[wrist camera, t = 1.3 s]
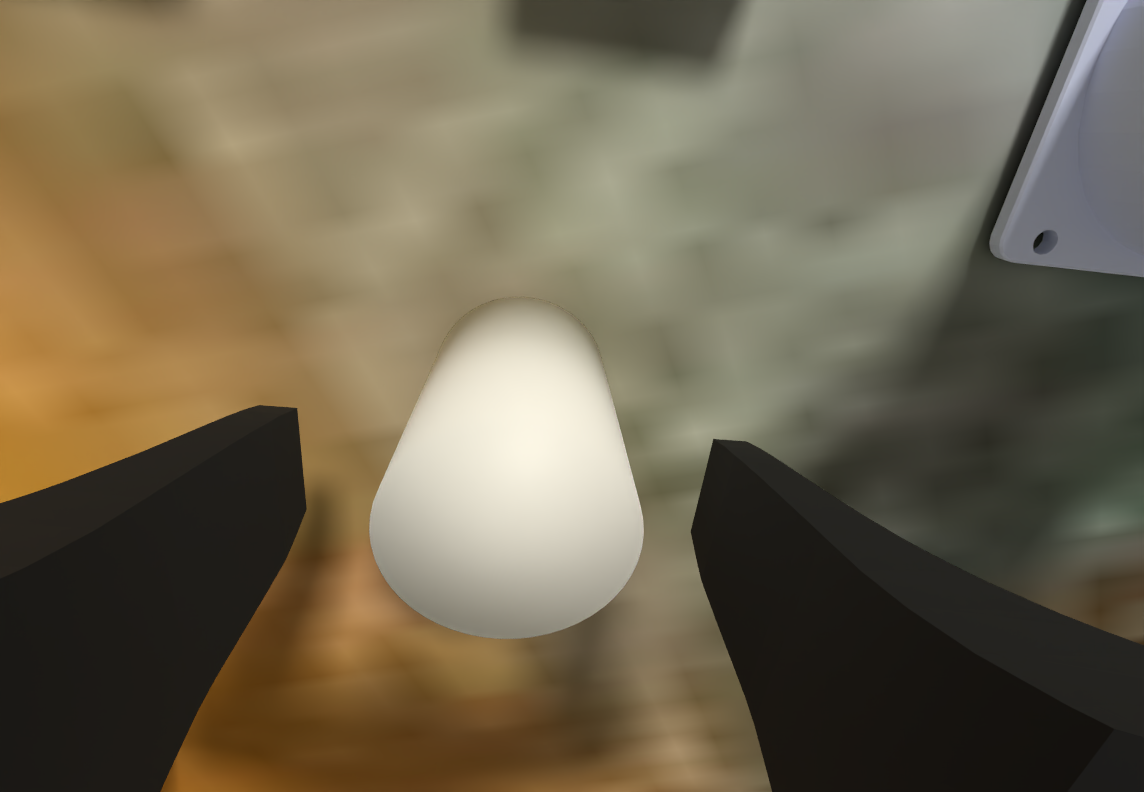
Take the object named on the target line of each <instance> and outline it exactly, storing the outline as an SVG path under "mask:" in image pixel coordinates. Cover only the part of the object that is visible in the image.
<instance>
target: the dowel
mask: <svg viewBox="0 0 1144 792" xmlns="http://www.w3.org/2000/svg"><path fill="white" fill-rule="evenodd" d="M369 533H370V541H371V548H372V551H373V554H374V558H375V561H376V563H377V565H378V567H379V570H380V572H381V574H382V575H383V577H384V578H385V580H386V581H387V583H388V584H389V586H390V587H391V588H392V589H393V590H394V592H395V593H396V594H397V595H398V596H399V597H400V598H401V599H402V600H403V601H404V602H405V603H407V604H408V605H409V606H410V607H411V608H413V609H414V610H415V611H417V612H418V613H420V614H421V615H423V616H424V617H426V618H428V619H430V620H432V621H434V622H435V623H437V624H440V625H442V626H444V627H447V628H449V629H452V630H455V631H458V632H462V633H465V634H469V635H474V636H480V637H486V638H497V639H518V638H528V637H535V636H540V635H545V634H550V633H553V632H556V631H560V630H563V629H565V628H568V627H570V626H573V625H575V624H577V623H579V622H581V621H583V620H585V619H587V618H588V617H590V616H592V615H593V614H595V613H596V612H598V611H599V610H600V609H602V608H603V607H604V606H606V605H607V604H608V603H609V602H610V601H611V600H612V599H613V598H614V597H615V596H616V595H617V594H618V593H619V592H620V591H621V589H622V588H623V587H624V586H625V584H626V583H627V581H628V580H629V578H630V577H631V575H632V573H633V571H634V569H635V567H636V565H637V562H638V560H639V556H640V553H641V549H642V543H643V535H644V529H643V516H642V511H641V506H640V502H639V498H638V495H637V491H636V487H635V483H634V479H633V476H632V472H631V468H630V464H629V461H628V457H627V453H626V449H625V445H624V442H623V438H622V434H621V430H620V426H619V423H618V419H617V415H616V411H615V407H614V404H613V400H612V396H611V392H610V388H609V385H608V381H607V377H606V373H605V369H604V366H603V362H602V358H601V355H600V352H599V349H598V346H597V344H596V342H595V340H594V338H593V337H592V335H591V334H590V332H589V331H588V330H587V328H586V327H585V326H584V325H583V324H582V323H581V322H580V321H579V320H578V319H577V318H576V317H575V316H573V315H572V314H571V313H569V312H568V311H566V310H564V309H563V308H561V307H559V306H557V305H555V304H552V303H550V302H547V301H544V300H540V299H535V298H529V297H509V298H502V299H497V300H493V301H490V302H488V303H485V304H482V305H480V306H478V307H477V308H475V309H473V310H471V311H470V312H469V313H467V314H466V315H464V316H463V317H462V318H461V319H460V320H459V321H458V322H457V323H456V324H455V325H454V326H453V327H452V329H451V330H450V331H449V333H448V334H447V336H446V338H445V340H444V341H443V344H442V346H441V348H440V350H439V353H438V355H437V357H436V359H435V362H434V364H433V366H432V369H431V371H430V373H429V375H428V378H427V380H426V382H425V384H424V387H423V389H422V391H421V394H420V396H419V398H418V400H417V403H416V405H415V407H414V409H413V412H412V414H411V416H410V419H409V421H408V423H407V425H406V428H405V430H404V432H403V434H402V437H401V439H400V441H399V443H398V446H397V448H396V450H395V453H394V455H393V457H392V459H391V462H390V464H389V466H388V468H387V471H386V473H385V475H384V478H383V480H382V482H381V484H380V487H379V489H378V492H377V494H376V497H375V499H374V502H373V505H372V510H371V515H370V528H369Z"/></svg>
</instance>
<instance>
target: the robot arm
mask: <svg viewBox="0 0 1144 792" xmlns="http://www.w3.org/2000/svg"><path fill="white" fill-rule="evenodd" d="M1042 232H1043V233H1044V235H1043V240H1042V242H1041V243H1040V244H1039V246H1038V247H1036V248H1035V249H1033V244H1034V240H1035V239H1036V237H1037V236H1038V235H1039V234H1040V233H1042ZM989 245H990V250H991V252H992V254H993V255H994V256H995V257H997V258H1000V259H1002V260H1006V261H1009V262H1012V263H1021V264H1030V265H1039V266H1048V267H1057V268H1066V269H1075V270H1084V271H1093V272H1102V273H1111V274H1120V275H1129V276H1137V277H1144V0H1087V1H1086V3H1085V6H1084V8H1083V11H1082V13H1081V16H1080V18H1079V20H1078V23H1077V25H1076V28H1075V30H1074V33H1073V35H1072V38H1071V40H1070V43H1069V45H1068V47H1067V50H1066V52H1065V55H1064V57H1063V60H1062V62H1061V65H1060V67H1059V70H1058V72H1057V74H1056V77H1055V79H1054V82H1053V84H1052V87H1051V89H1050V92H1049V94H1048V97H1047V99H1046V101H1045V104H1044V106H1043V109H1042V111H1041V114H1040V116H1039V119H1038V121H1037V124H1036V126H1035V128H1034V131H1033V133H1032V136H1031V138H1030V141H1029V143H1028V146H1027V148H1026V150H1025V153H1024V155H1023V158H1022V160H1021V163H1020V165H1019V168H1018V170H1017V173H1016V175H1015V177H1014V180H1013V182H1012V185H1011V187H1010V190H1009V192H1008V195H1007V197H1006V200H1005V202H1004V204H1003V207H1002V209H1001V212H1000V214H999V217H998V219H997V222H996V224H995V227H994V229H993V231H992V234H991V238H990V242H989ZM305 512H306V499H305V488H304V477H303V466H302V456H301V445H300V434H299V423H298V413H297V408H289V407H276V406H262V405H259V406H255V407H251V408H248V409H245V410H242V411H239V412H237V413H234V414H231V415H229V416H226V417H224V418H221V419H219V420H217V421H214V422H212V423H209V424H207V425H205V426H202V427H200V428H197V429H195V430H193V431H190V432H188V433H186V434H183V435H181V436H179V437H176V438H174V439H171V440H169V441H167V442H164V443H162V444H160V445H157V446H155V447H152V448H150V449H148V450H145V451H143V452H140V453H138V454H135V455H133V456H130V457H128V458H125V459H122V460H120V461H117V462H115V463H112V464H110V465H107V466H104V467H102V468H99V469H97V470H94V471H91V472H89V473H86V474H84V475H81V476H79V477H76V478H73V479H71V480H68V481H66V482H63V483H60V484H57V485H54V486H51V487H49V488H46V489H43V490H40V491H37V492H34V493H31V494H28V495H25V496H22V497H19V498H16V499H13V500H10V501H6V502H3V503H0V792H160V791H161V789H162V786H163V784H164V782H165V780H166V777H167V775H168V773H169V771H170V769H171V767H172V765H173V763H174V760H175V758H176V756H177V754H178V752H179V750H180V748H181V745H182V743H183V741H184V739H185V737H186V735H187V733H188V731H189V728H190V726H191V724H192V722H193V720H194V718H195V716H196V713H197V711H198V709H199V708H200V706H201V704H202V702H203V700H204V698H205V697H206V695H207V693H208V691H209V689H210V687H211V685H212V684H213V682H214V680H215V678H216V677H217V675H218V673H219V672H220V670H221V668H222V667H223V665H224V663H225V662H226V660H227V658H228V657H229V655H230V653H231V651H232V650H233V648H234V646H235V645H236V643H237V641H238V640H239V638H240V636H241V635H242V633H243V631H244V630H245V628H246V626H247V625H248V623H249V621H250V620H251V618H252V616H253V615H254V613H255V611H256V610H257V608H258V606H259V605H260V603H261V601H262V600H263V598H264V596H265V595H266V593H267V591H268V589H269V588H270V586H271V584H272V583H273V581H274V579H275V577H276V576H277V574H278V572H279V571H280V569H281V567H282V565H283V563H284V562H285V560H286V558H287V555H288V553H289V551H290V549H291V546H292V544H293V542H294V539H295V537H296V534H297V532H298V529H299V527H300V524H301V522H302V519H303V517H304V514H305ZM691 535H692V540H693V545H694V550H695V554H696V559H697V563H698V568H699V572H700V576H701V580H702V583H703V586H704V589H705V591H706V594H707V597H708V600H709V602H710V605H711V608H712V610H713V613H714V616H715V619H716V621H717V624H718V627H719V629H720V632H721V634H722V637H723V640H724V642H725V645H726V648H727V650H728V653H729V655H730V658H731V661H732V663H733V666H734V669H735V671H736V674H737V676H738V679H739V682H740V684H741V687H742V690H743V692H744V695H745V698H746V701H747V704H748V707H749V710H750V713H751V716H752V719H753V722H754V725H755V729H756V732H757V736H758V740H759V744H760V747H761V751H762V755H763V758H764V762H765V766H766V770H767V773H768V777H769V781H770V785H771V788H772V792H1144V645H1141V644H1138V643H1136V642H1133V641H1130V640H1128V639H1125V638H1122V637H1119V636H1117V635H1114V634H1111V633H1108V632H1106V631H1103V630H1100V629H1098V628H1095V627H1093V626H1090V625H1088V624H1085V623H1083V622H1080V621H1078V620H1075V619H1072V618H1070V617H1067V616H1065V615H1062V614H1060V613H1057V612H1055V611H1053V610H1050V609H1048V608H1046V607H1043V606H1041V605H1039V604H1036V603H1034V602H1032V601H1030V600H1027V599H1025V598H1023V597H1020V596H1018V595H1016V594H1013V593H1011V592H1009V591H1007V590H1004V589H1002V588H1000V587H997V586H995V585H993V584H991V583H989V582H987V581H985V580H982V579H980V578H978V577H976V576H974V575H972V574H970V573H968V572H966V571H964V570H962V569H960V568H958V567H956V566H954V565H952V564H950V563H948V562H946V561H944V560H942V559H940V558H938V557H936V556H934V555H932V554H930V553H929V552H927V551H925V550H923V549H921V548H919V547H917V546H915V545H913V544H912V543H910V542H908V541H906V540H904V539H903V538H901V537H899V536H897V535H896V534H894V533H892V532H891V531H889V530H887V529H886V528H884V527H882V526H881V525H879V524H877V523H875V522H874V521H872V520H870V519H869V518H867V517H865V516H864V515H862V514H860V513H859V512H857V511H856V510H854V509H852V508H851V507H849V506H848V505H846V504H845V503H843V502H841V501H840V500H838V499H837V498H835V497H834V496H832V495H831V494H829V493H828V492H826V491H824V490H823V489H821V488H820V487H818V486H817V485H815V484H814V483H812V482H811V481H809V480H808V479H806V478H805V477H803V476H802V475H800V474H799V473H797V472H796V471H794V470H793V469H791V468H790V467H788V466H787V465H785V464H784V463H782V462H781V461H779V460H778V459H776V458H774V457H773V456H771V455H770V454H768V453H767V452H765V451H763V450H762V449H760V448H758V447H756V446H754V445H752V444H750V443H748V442H745V441H732V440H719V439H713V443H712V447H711V451H710V455H709V460H708V464H707V468H706V472H705V476H704V480H703V484H702V488H701V492H700V496H699V500H698V504H697V508H696V512H695V517H694V521H693V525H692V529H691Z"/></svg>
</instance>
